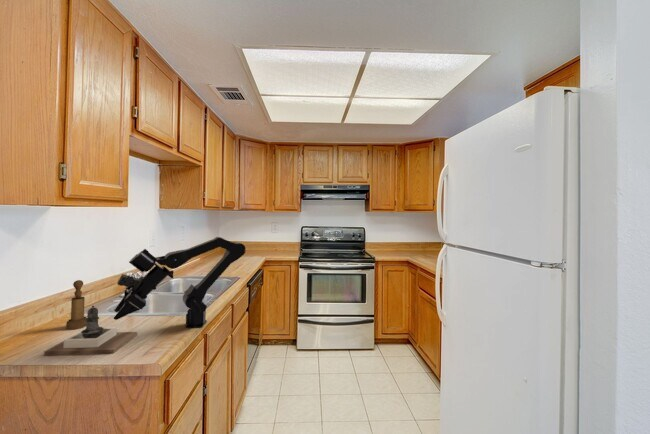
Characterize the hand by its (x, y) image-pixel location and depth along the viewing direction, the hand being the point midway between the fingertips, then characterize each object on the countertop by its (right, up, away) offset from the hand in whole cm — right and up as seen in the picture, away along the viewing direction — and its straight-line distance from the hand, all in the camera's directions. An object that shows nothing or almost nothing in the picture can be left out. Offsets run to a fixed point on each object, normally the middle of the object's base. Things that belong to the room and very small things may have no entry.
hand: (115, 315), depth 100 cm
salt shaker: (-5, -8, -3) cm, 10 cm away
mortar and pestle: (-23, -9, +11) cm, 27 cm away
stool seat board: (-4, -9, -4) cm, 10 cm away
